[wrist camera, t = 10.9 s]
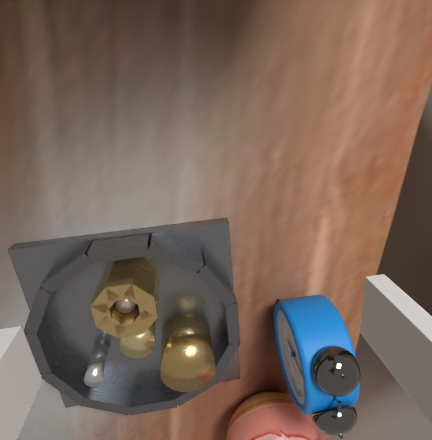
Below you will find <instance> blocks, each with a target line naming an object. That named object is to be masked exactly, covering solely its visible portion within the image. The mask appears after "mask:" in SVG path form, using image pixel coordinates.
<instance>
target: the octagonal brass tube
mask: <svg viewBox="0 0 432 440" xmlns="http://www.w3.org/2000/svg"><path fill="white" fill-rule="evenodd" d="M159 289H160V286H159V280H158V274H157V268H156V267H154V266H153V265H151V264H150V263H148V262H146V261H145V260H143V259H142V258H140V257H138V258H131V259H123V260H115V261H113V262H112V263H111V264H110V266H109V267H108V268H107V269H106V271H105V272H104V273H103V274H102V276H101V278H100V281H99V284H98V286H97V289H96V292H95V294H94V297H93V300H92V302H91V305H90V307H91V310H92V314H93V318H94V321H95V325H96V327H98V328H99V329H101V330H103V331H105V332H107V333H109V334H111V335H113V336H115V337H117V338H122V337H128V336H135V335H142V334H144V332H145V331H146V330H147V329H148V328H149V327H150V326H151V325H152V324H153V322H154V321H155V320H156V319H157V318H158V305H159ZM126 299H129V300H130V301H132V302H134V303H135V308H134V309H133V311H131V312H129V313H122V312H120V311H118V310H117V308H116V302H117V301H119V300H126Z"/></svg>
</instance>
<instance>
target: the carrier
mask: <svg viewBox="0 0 432 440" xmlns="http://www.w3.org/2000/svg"><path fill="white" fill-rule="evenodd" d="M8 252H9V254H10V257H11V260H12V262H13V265H14V268H15V271H16V273H17V276H18V279H19V282H20V284H21V287H22V290H23V292H24V295H25V298H26V301H27V303H28V306H29V309H30V314H29V317H28V320H27V323H26V326H25V329H24V332H25V333H24V334H25V337H26V339H27V342H28V344H29V347H30V349H31V352H32V355H33V357H34V360H35V362H36V365H37V367H38V370H39V373H40V375H42V376H41V378H43V379H44V380H45V381H47V382H48V383H49V384H51V385H52V386H54V387H55V388H56V389H58V390H59V391H60V393H61V396H62V399H63V402H64V404H65V407H71V406H77V405H81V406H86V407H91V408H96V409H100V410H105V411H110V412H115V413H120V414H125V415H128V413H130V415H134V414H140V413H145V412H151V411H157V410H163V409H169V408H175V407H177V405H178V406H180V405H182V404H184V403H185V402H187V401H189V400H190V399H192V398H193V397H195V396H197V395H198V394H200V393H201V392H203V391H205V390H206V389H208V388H209V387H211V386H213V385H214V384H216V383H217V382H222V381H229V380H235V379H240V367H239V354H238V348H239V344H240V337H239V322H238V308H237V301H236V298H235V294H234V287H233V273H232V260H231V246H230V233H229V222H228V219H227V218H221V219H213V220H205V221H196V222H188V223H180V224H172V225H164V226H156V227H148V228H140V229H132V230H124V231H116V232H108V233H100V234H92V235H84V236H76V237H68V238H60V239H52V240H44V241H36V242H28V243H20V244H14V245H13V246H12V247H11V248H10V249H9V250H8ZM138 257H140V258H142V259H143V260H145V261H146V262H148V263H150V264H151V265H153V266H154V267H156V268H157V274H158V280H159V286H160V289H159V305H158V318H157V319H156V320H155V321H154V322H153V324H152V325H151V326H150V327H149V328H148V329H147V330H146V331H145V332H144V334H142V335H135V336H128V337H122V338H117V337H115V336H113V335H111V334H109V333H107V332H105V331H103V330H101V329H99V328H98V327H96V325H95V321H94V318H93V314H92V310H91V307H90V305H91V302H92V300H93V297H94V294H95V292H96V289H97V286H98V284H99V281H100V278H101V276H102V274H103V273H104V272H105V271H106V269H107V268H108V267H109V266H110V264H111V263H112V262H113V261H115V260H123V259H131V258H138ZM116 308H117V310H118V311H120V312H122V313H129V312H131V311H133V309H134V308H135V303H134V302H132V301H130V300H129V299H126V300H119V301H117V302H116Z"/></svg>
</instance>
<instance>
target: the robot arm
mask: <svg viewBox="0 0 432 440" xmlns="http://www.w3.org/2000/svg"><path fill="white" fill-rule="evenodd" d="M360 333H361V334H362V336H363V337H364V338H365V340H366V341H367V342H368V343H369V345H370V346H371V347H372V349H373V350H374V351H375V352H376V354H377V355H378V356H379V358H380V359H381V361H382V362H383V363H384V364H385V366H386V367H387V368H388V370H389V371H390V372H391V374H392V375H393V376H394V377H395V379H396V380H397V381H398V383H399V384H400V385H401V387H402V388H403V389H404V390H405V392H406V393H407V394H408V396H409V397H410V399H411V400H412V401H413V402H414V404H415V405H416V406H417V408H418V409H419V410H420V411H421V413H422V414H423V415H424V417H425V418H426V419H427V421H428V422H429V423H430V425H431V426H432V316H430V315H429V314H428V313H427V312H426V311H425V310H424V309H423V308H421V307H420V306H419V305H418V304H417V303H416V302H415V301H413V300H412V299H411V298H410V297H409V296H408V295H407V294H406V293H404V292H403V291H402V290H401V289H400V288H399V287H398V286H397V285H395V284H394V283H393V282H392V281H391V280H390V279H389V278H388V277H386V276H385V275H384V274H382V275H375V276H368V277H366V278H365V287H364V296H363V306H362V315H361V324H360ZM42 383H43V380H42V378H41V375H40V373H39V370H38V367H37V365H36V362H35V360H34V357H33V355H32V352H31V349H30V347H29V344H28V342H27V339H26V337H25V334H24V331H23V329H22V326H18V327H11V328H4V329H0V440H18V437H19V435H20V433H21V430H22V428H23V426H24V424H25V421H26V419H27V417H28V415H29V412H30V410H31V408H32V405H33V403H34V401H35V399H36V396H37V394H38V392H39V389H40V387H41V385H42Z"/></svg>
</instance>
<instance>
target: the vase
mask: <svg viewBox="0 0 432 440" xmlns="http://www.w3.org/2000/svg"><path fill="white" fill-rule="evenodd" d="M312 417H313V416H312V415H305V414H303V413H301V412H300V411H299V409H298V408H297V407H296V405H295V403H294V401H293V399H292V397H291V396H289V395H286V394H283V393H279V392H271V391H264V392H259V393H256V394H254V395H252V396H250V397H249V398H248V399H247V400H246V401H244V402H243V403H242V404H241V405H240V406H239V407H238V408H237V409H236V411H235V412H234V414H233V416H232V417H231V419H230V422H229V425H228V428H227V433H226V440H321V438H320V433H319V430H318V429H317V428H316V427H315V425H314V423H313V421H312Z"/></svg>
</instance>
